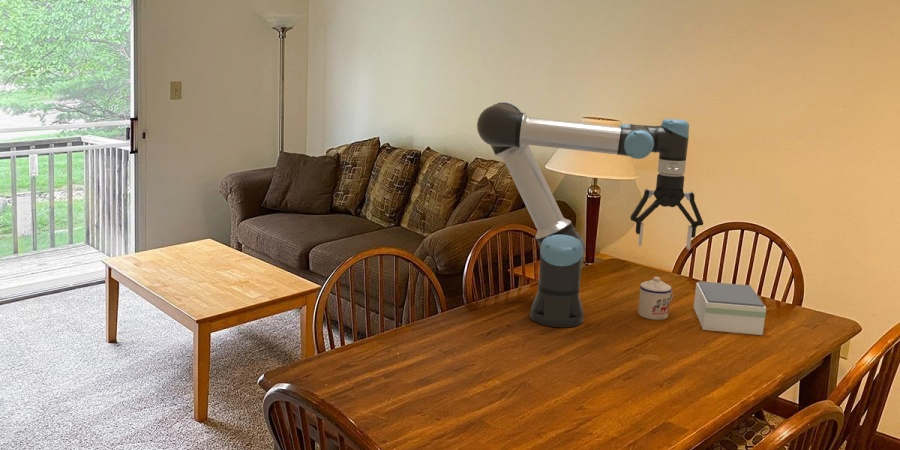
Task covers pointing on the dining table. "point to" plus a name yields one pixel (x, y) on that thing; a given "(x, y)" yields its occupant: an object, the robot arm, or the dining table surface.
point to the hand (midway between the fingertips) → (663, 246)
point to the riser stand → (729, 308)
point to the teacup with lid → (654, 299)
